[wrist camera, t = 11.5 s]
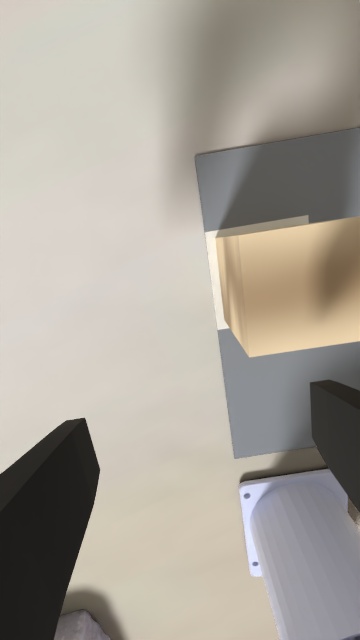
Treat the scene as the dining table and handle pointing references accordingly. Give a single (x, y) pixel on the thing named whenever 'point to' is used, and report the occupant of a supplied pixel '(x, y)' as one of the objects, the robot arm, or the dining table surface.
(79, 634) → the stone block
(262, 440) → the slate mat
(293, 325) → the maple block
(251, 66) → the dining table surface
